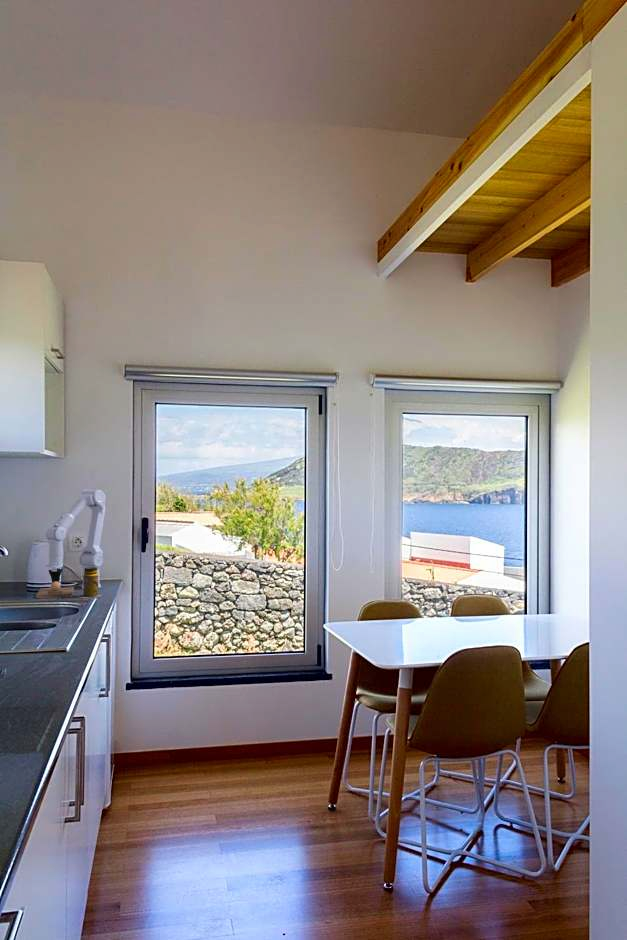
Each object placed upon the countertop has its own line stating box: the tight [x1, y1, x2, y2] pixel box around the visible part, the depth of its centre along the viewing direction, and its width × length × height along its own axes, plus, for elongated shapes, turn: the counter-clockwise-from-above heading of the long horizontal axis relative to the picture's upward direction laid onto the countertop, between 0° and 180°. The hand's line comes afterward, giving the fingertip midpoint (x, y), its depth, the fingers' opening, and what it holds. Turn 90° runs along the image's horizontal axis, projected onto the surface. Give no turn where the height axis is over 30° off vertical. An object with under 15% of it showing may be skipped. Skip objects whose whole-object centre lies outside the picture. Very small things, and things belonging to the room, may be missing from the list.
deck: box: [35, 586, 75, 599], centre depth 341 cm, size 18×14×2 cm
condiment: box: [75, 567, 102, 599], centre depth 337 cm, size 7×8×12 cm
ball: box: [50, 581, 61, 591], centre depth 342 cm, size 4×4×4 cm
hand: (55, 586), depth 344 cm, fingers closed, pressing on ball
